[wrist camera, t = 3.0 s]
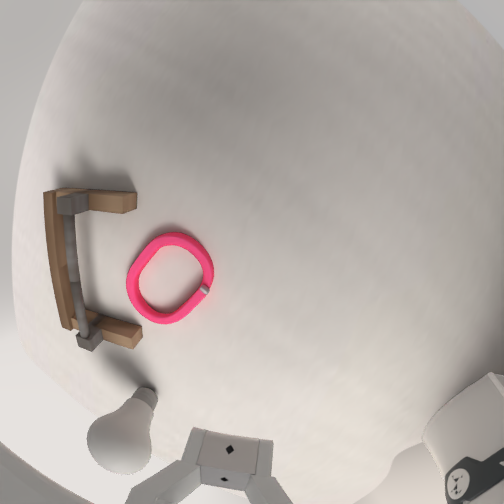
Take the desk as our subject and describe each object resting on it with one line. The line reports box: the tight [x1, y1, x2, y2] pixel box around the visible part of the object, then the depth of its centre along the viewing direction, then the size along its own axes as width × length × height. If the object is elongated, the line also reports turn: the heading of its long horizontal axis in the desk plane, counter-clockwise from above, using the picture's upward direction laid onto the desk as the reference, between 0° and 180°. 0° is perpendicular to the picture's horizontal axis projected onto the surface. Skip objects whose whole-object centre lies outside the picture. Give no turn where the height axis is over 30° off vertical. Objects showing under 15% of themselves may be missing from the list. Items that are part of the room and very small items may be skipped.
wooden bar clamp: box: [43, 188, 143, 352], centre depth 20 cm, size 8×13×4 cm, turn 173°
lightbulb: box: [87, 387, 158, 475], centre depth 21 cm, size 6×6×11 cm
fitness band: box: [126, 232, 214, 324], centre depth 21 cm, size 8×6×2 cm
